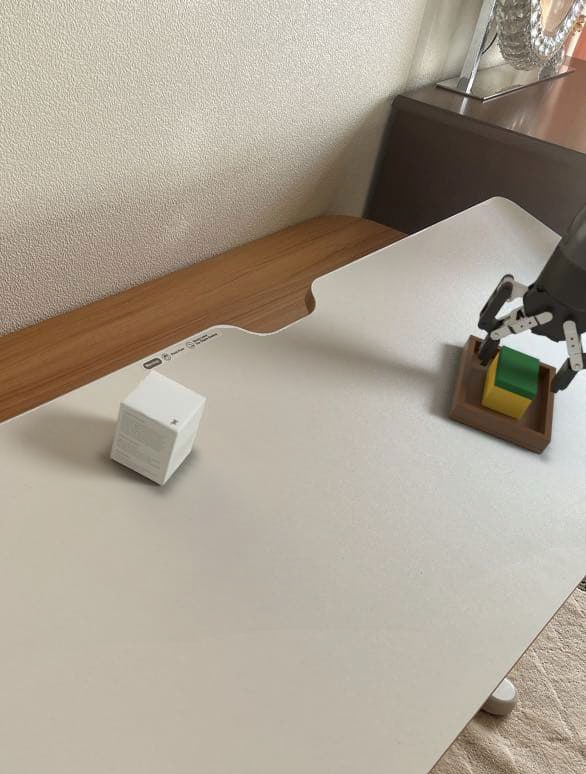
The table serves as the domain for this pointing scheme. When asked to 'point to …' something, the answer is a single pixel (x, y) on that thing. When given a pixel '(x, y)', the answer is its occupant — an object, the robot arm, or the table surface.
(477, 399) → the tray
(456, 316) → the table surface
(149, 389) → the product box
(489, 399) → the sponge
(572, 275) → the robot arm
